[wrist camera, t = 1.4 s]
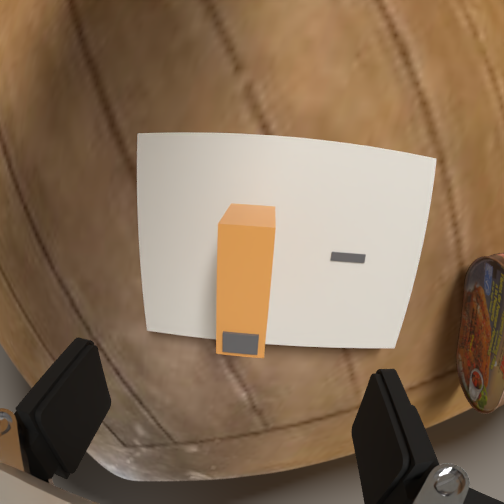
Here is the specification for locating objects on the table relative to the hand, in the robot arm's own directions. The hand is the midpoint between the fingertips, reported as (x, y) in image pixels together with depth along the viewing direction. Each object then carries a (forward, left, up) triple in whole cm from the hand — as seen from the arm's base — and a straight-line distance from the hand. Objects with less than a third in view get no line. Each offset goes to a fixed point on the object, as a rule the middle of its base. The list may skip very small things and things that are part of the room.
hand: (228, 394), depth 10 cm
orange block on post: (-1, 0, -11) cm, 11 cm away
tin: (+5, +21, -15) cm, 26 cm away
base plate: (-1, +2, -15) cm, 15 cm away
